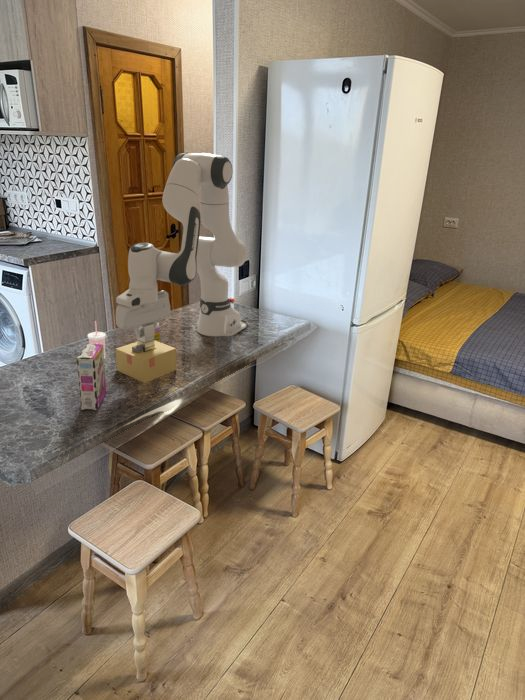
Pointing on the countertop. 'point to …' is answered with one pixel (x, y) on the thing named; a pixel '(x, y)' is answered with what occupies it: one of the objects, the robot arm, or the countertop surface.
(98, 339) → the beverage cup
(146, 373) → the housing
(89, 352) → the candy bar box
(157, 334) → the supplement bottle
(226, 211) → the robot arm
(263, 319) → the countertop surface
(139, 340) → the column
